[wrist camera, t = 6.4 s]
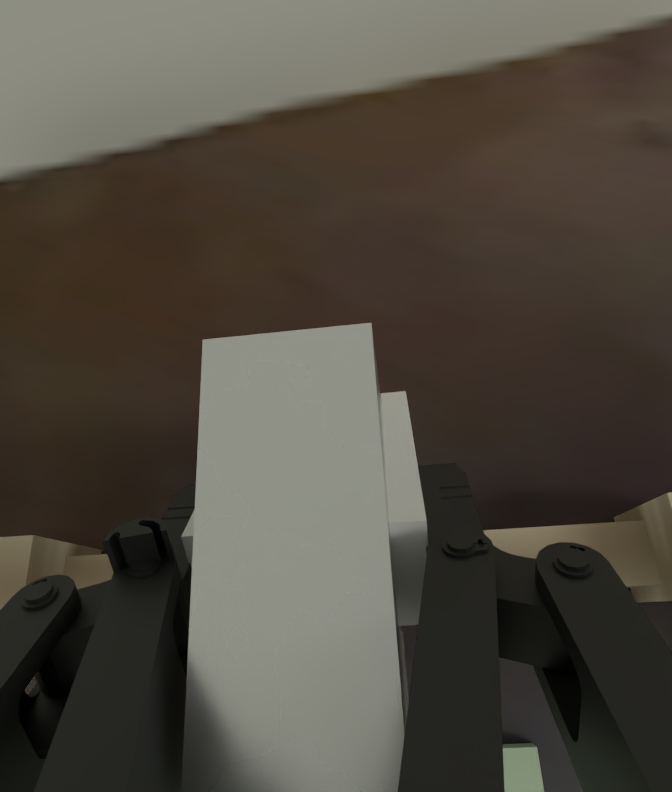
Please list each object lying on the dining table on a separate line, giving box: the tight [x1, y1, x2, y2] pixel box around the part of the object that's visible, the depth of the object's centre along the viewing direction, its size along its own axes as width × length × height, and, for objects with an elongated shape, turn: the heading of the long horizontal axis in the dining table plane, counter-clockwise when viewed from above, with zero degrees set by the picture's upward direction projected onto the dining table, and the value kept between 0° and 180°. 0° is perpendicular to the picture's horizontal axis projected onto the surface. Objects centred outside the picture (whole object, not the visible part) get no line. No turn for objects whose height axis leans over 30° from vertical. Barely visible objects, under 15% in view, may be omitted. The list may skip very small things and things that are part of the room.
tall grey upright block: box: [181, 323, 409, 792], centre depth 15 cm, size 8×4×11 cm, turn 3°
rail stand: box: [0, 492, 672, 610], centre depth 19 cm, size 3×26×4 cm, turn 93°
